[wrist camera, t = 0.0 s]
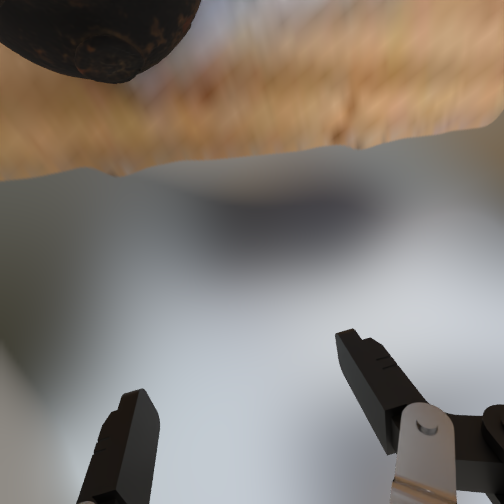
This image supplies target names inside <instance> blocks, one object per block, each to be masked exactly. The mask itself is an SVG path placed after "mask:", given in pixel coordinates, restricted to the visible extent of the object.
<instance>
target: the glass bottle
mask: <svg viewBox="0 0 504 504" xmlns="http://www.w3.org/2000/svg"><path fill="white" fill-rule="evenodd" d="M200 2H201V0H0V42H1V43H2V44H4V45H5V46H6V47H8V48H10V49H11V50H12V51H14V52H16V53H17V54H19V55H21V56H22V57H24V58H26V59H28V60H29V61H31V62H33V63H35V64H37V65H40V66H42V67H44V68H47V69H49V70H52V71H54V72H57V73H60V74H64V75H67V76H72V77H78V78H84V79H91V80H94V81H97V82H104V83H112V84H117V83H124V82H127V81H130V80H131V79H133V78H134V77H135V76H136V75H137V74H139V73H142V72H144V71H146V70H147V69H149V68H151V67H152V66H154V65H156V64H158V63H159V62H160V61H161V60H162V59H163V58H165V57H166V56H167V55H168V54H169V53H170V52H171V51H172V50H173V49H174V48H175V47H176V46H177V44H178V43H179V42H180V41H181V40H182V39H183V37H184V36H185V35H186V33H187V32H188V30H189V29H190V27H191V23H192V21H193V19H194V18H195V14H196V12H197V10H198V8H199V5H200Z"/></svg>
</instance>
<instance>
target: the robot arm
mask: <svg viewBox="0 0 504 504" xmlns="http://www.w3.org/2000/svg"><path fill="white" fill-rule="evenodd" d="M335 338H336V345H337V352H338V359H339V364H340V367H341V370H342V372H343V374H344V376H345V378H346V380H347V382H348V384H349V386H350V387H351V389H352V391H353V393H354V395H355V397H356V399H357V400H358V402H359V404H360V406H361V408H362V409H363V411H364V413H365V415H366V417H367V419H368V421H369V423H370V424H371V426H372V428H373V430H374V432H375V434H376V436H377V437H378V439H379V441H380V443H381V445H382V447H383V448H384V450H385V452H386V454H387V455H390V454H393V453H396V454H397V461H396V469H395V477H394V480H393V482H392V488H391V495H390V504H457V499H456V490H460V491H471V492H481V493H486V495H487V496H488V498H489V499H490V501H491V502H492V504H504V405H492V406H490V407H488V408H487V409H486V410H485V411H484V413H483V416H467V415H453V414H448V413H445V412H443V411H442V410H441V409H439V408H437V407H435V406H433V405H430V404H429V403H428V402H427V401H426V400H425V399H424V398H423V396H422V395H421V394H420V393H419V392H418V390H417V389H416V387H415V386H414V385H413V384H412V382H411V381H410V380H409V379H408V377H407V376H406V375H405V373H404V372H403V371H402V370H401V368H400V367H399V366H398V365H397V363H396V362H395V361H394V359H393V358H392V357H391V356H390V354H389V353H388V352H387V350H386V349H385V348H384V347H383V345H382V344H380V343H378V342H377V341H375V340H374V339H372V338H367V339H364V340H362V339H361V338H360V336H359V335H358V334H357V332H356V331H355V330H354V329H349V330H346V331H342V332H339V333H336V334H335ZM159 431H160V419H159V415H158V412H157V410H156V409H155V407H154V405H153V403H152V402H151V400H150V398H149V396H148V394H147V392H146V391H145V390H144V389H139V390H135V391H132V392H129V393H125V394H123V395H122V397H121V400H120V403H119V407H118V410H116V411H113V412H111V413H110V415H109V416H108V418H107V419H106V421H105V423H104V424H103V425H102V428H101V431H100V434H99V437H98V443H96V446H95V449H94V455H92V458H91V461H90V464H89V467H88V470H87V473H86V476H85V479H84V482H83V485H82V488H81V491H80V495H79V497H78V500H77V503H76V504H149V501H150V494H151V487H152V480H153V473H154V466H155V460H156V453H157V445H158V439H159Z"/></svg>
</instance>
